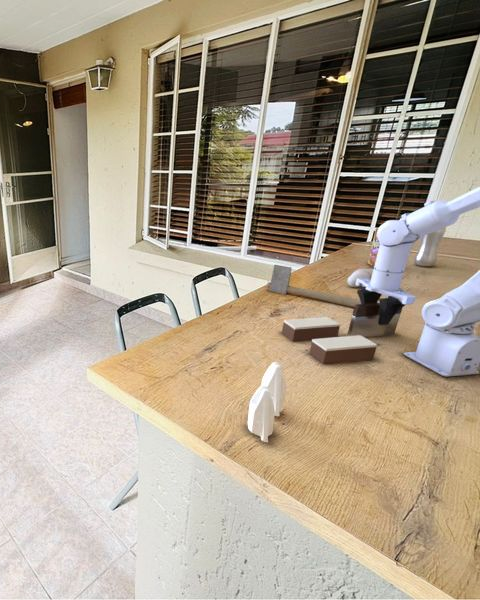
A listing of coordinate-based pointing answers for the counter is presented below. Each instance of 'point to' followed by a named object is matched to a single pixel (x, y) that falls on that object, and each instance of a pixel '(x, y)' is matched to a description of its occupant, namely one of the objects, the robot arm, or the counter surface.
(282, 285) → the long-handled mallet
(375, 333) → the wide flat blade
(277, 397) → the shaker set
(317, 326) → the cake far half
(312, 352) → the cake near half
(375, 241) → the candy box
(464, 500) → the counter surface
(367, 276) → the white rounded oblong piece
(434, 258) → the silver bottle
